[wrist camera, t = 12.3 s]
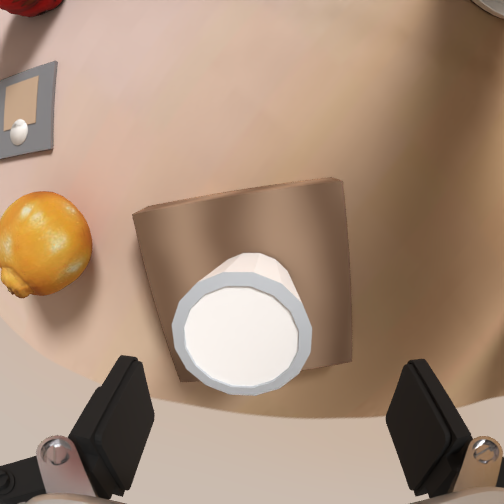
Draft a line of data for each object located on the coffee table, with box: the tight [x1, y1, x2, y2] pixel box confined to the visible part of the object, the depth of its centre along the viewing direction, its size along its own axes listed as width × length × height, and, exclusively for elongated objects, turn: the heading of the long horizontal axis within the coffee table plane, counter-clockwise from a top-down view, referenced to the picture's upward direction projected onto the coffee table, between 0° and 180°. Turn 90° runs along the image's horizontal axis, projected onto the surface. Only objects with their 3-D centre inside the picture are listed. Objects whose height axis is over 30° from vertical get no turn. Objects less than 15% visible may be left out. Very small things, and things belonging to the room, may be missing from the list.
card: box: [0, 61, 58, 159], centre depth 21 cm, size 8×8×1 cm
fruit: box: [0, 191, 92, 298], centre depth 21 cm, size 8×8×8 cm
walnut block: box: [132, 177, 352, 382], centre depth 24 cm, size 14×14×4 cm
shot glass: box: [172, 253, 312, 396], centre depth 18 cm, size 7×7×7 cm
